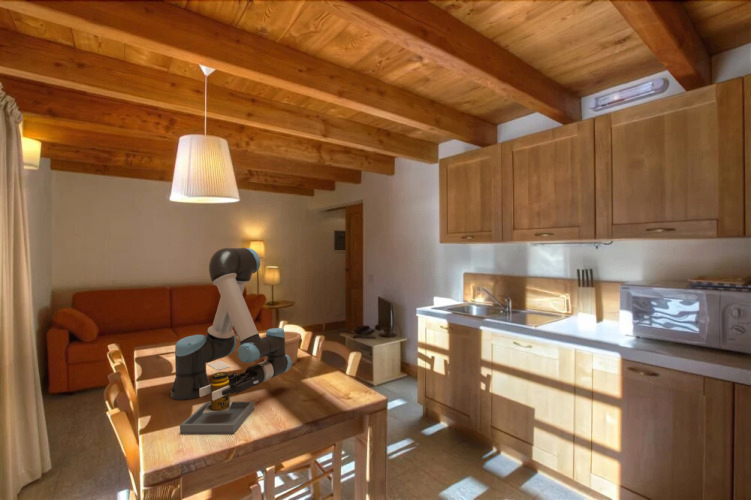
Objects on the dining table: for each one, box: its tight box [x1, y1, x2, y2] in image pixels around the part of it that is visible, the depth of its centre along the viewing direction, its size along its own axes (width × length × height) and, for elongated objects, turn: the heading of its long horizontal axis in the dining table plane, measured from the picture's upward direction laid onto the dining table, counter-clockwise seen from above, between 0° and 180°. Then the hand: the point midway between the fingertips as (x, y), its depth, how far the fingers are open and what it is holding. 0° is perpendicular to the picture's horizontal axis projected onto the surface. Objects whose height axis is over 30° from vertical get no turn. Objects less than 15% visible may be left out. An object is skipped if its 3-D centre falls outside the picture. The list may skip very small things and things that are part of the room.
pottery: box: [260, 331, 302, 366], centre depth 189 cm, size 22×22×14 cm
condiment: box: [203, 371, 234, 413], centre depth 126 cm, size 7×8×12 cm
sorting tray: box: [179, 400, 255, 435], centre depth 126 cm, size 18×18×3 cm
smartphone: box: [206, 360, 231, 371], centre depth 187 cm, size 7×1×15 cm
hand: (206, 394), depth 121 cm, fingers closed on condiment, 6 cm apart
